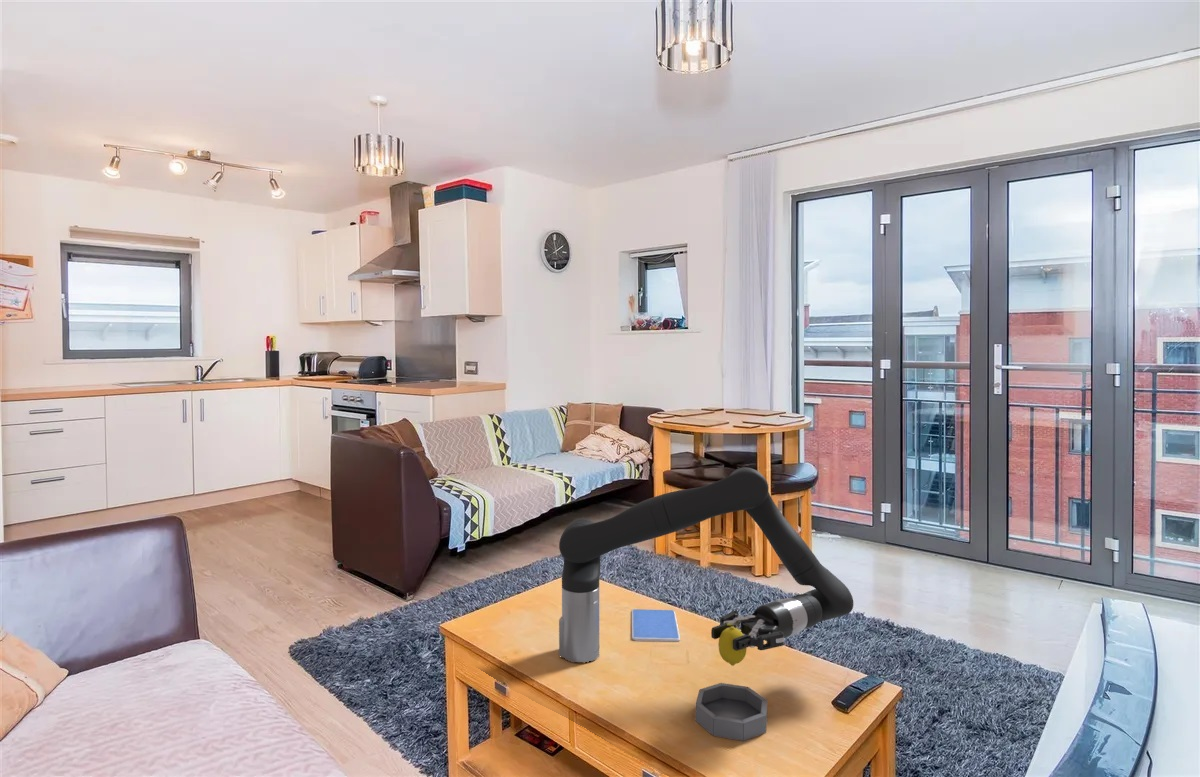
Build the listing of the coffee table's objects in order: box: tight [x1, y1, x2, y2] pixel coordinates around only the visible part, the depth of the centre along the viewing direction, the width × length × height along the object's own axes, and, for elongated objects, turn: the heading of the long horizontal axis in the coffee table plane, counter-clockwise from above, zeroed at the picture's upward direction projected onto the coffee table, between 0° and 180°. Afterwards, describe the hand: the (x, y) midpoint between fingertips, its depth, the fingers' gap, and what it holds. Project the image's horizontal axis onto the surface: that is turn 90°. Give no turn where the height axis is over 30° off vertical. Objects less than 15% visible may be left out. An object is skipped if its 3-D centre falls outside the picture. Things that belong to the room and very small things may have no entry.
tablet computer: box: [631, 608, 681, 643], centre depth 171 cm, size 19×13×1 cm, turn 177°
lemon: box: [718, 626, 747, 666], centre depth 126 cm, size 6×6×8 cm
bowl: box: [694, 682, 768, 742], centre depth 127 cm, size 14×14×4 cm
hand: (723, 639), depth 125 cm, fingers closed on lemon, 5 cm apart
